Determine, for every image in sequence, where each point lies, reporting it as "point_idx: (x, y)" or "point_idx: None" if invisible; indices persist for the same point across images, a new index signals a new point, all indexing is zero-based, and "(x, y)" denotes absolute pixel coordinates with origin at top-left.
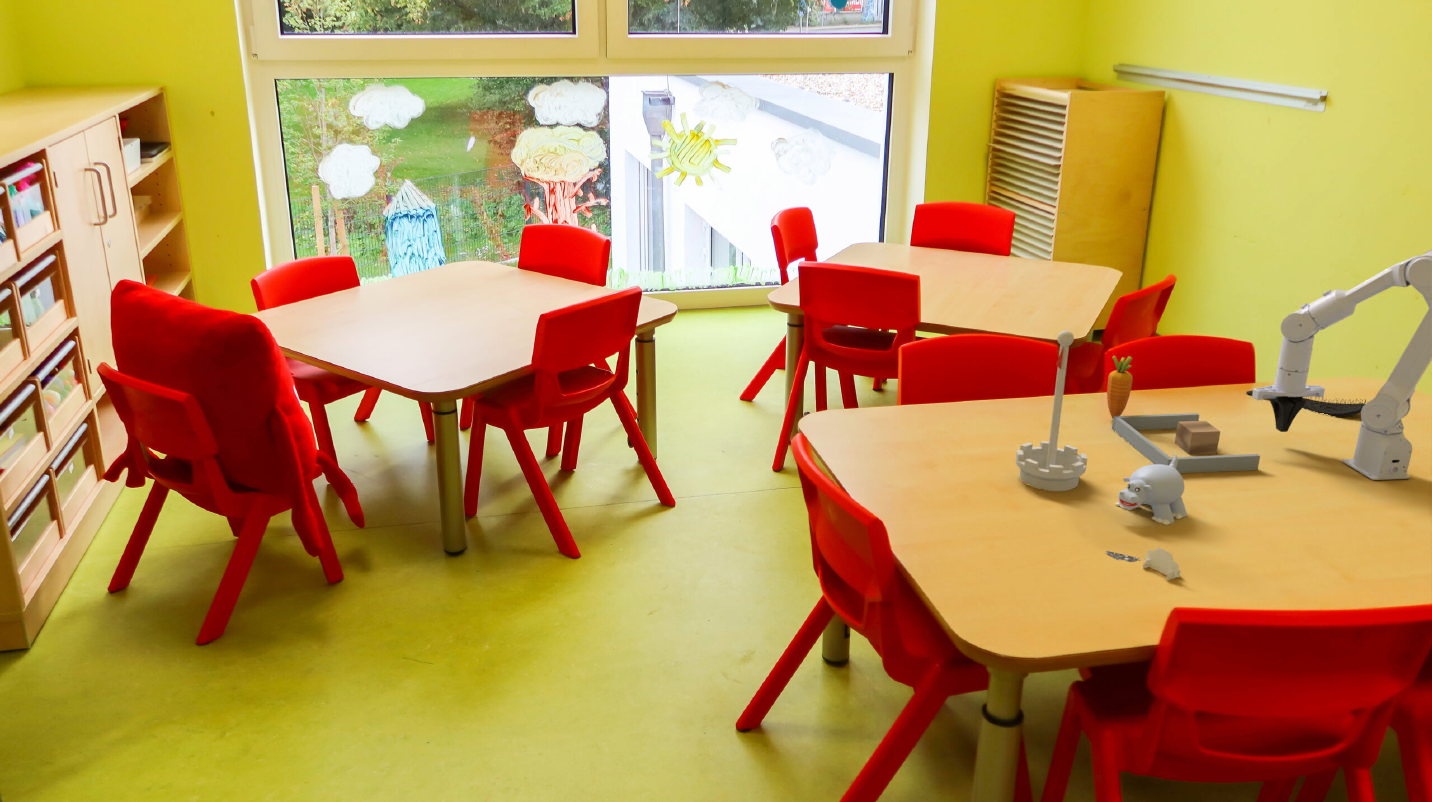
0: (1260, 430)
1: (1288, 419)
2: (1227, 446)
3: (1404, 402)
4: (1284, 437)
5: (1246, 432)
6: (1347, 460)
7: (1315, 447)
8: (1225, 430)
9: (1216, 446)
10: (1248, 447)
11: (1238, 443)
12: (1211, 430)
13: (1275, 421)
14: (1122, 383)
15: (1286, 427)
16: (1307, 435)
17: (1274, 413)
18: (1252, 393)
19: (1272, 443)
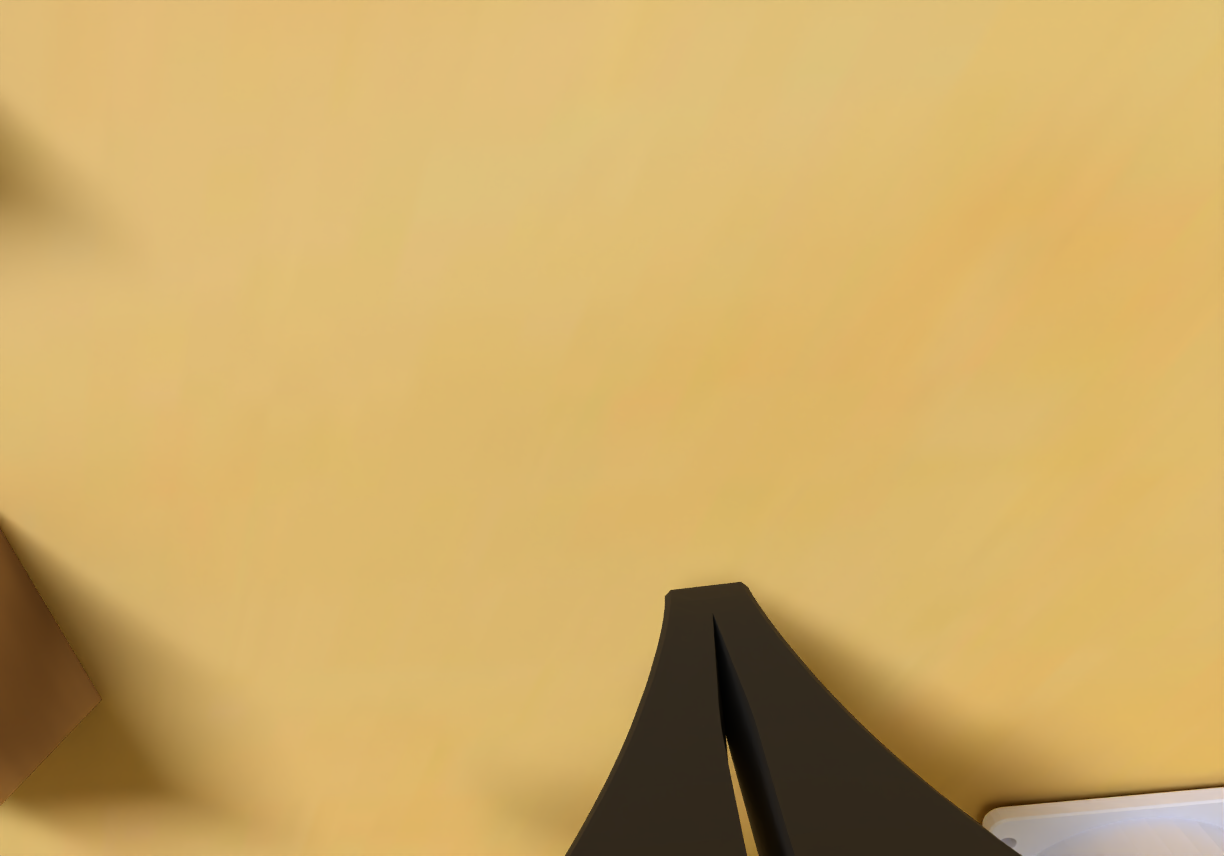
0: (697, 118)
1: (757, 848)
2: (208, 575)
3: None
4: (858, 341)
5: (497, 200)
6: (1017, 837)
7: (993, 571)
8: (259, 138)
9: (40, 751)
10: (389, 589)
11: (323, 509)
12: None
13: (660, 640)
14: None
15: (728, 740)
16: (1161, 271)
17: (630, 738)
18: None
19: (647, 498)
